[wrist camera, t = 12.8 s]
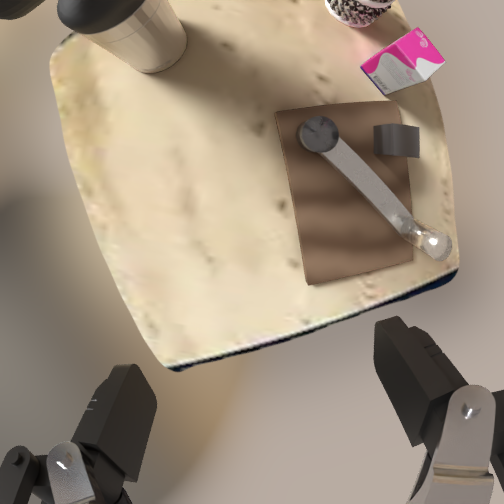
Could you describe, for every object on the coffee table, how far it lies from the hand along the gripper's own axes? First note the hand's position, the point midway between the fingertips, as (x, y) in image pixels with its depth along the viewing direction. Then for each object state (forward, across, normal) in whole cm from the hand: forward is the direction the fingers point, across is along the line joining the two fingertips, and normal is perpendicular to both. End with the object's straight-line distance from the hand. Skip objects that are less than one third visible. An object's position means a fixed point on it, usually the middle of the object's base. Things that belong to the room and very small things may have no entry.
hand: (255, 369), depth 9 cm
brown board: (+33, -15, +2) cm, 36 cm away
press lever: (+31, -15, 0) cm, 34 cm away
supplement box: (+33, -24, -16) cm, 44 cm away
